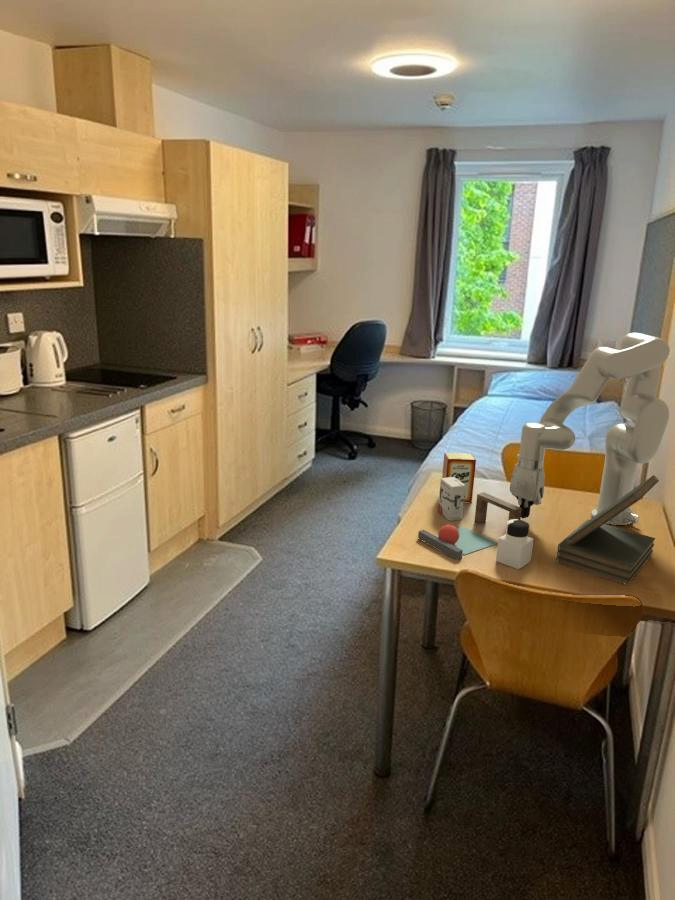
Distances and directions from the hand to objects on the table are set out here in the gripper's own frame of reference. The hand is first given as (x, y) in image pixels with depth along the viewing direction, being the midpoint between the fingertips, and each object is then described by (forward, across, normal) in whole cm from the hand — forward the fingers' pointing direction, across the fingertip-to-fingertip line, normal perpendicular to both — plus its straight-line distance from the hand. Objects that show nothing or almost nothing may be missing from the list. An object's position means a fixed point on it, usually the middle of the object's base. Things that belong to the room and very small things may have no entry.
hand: (523, 516), depth 207 cm
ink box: (+2, -16, -17) cm, 23 cm away
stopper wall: (+2, 0, -37) cm, 37 cm away
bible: (+2, +30, -2) cm, 30 cm away
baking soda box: (+2, -25, -5) cm, 26 cm away
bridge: (+2, 0, -13) cm, 13 cm away
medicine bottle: (+2, +17, -25) cm, 30 cm away
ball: (-2, 0, -33) cm, 33 cm away
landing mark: (+2, 0, -27) cm, 27 cm away
